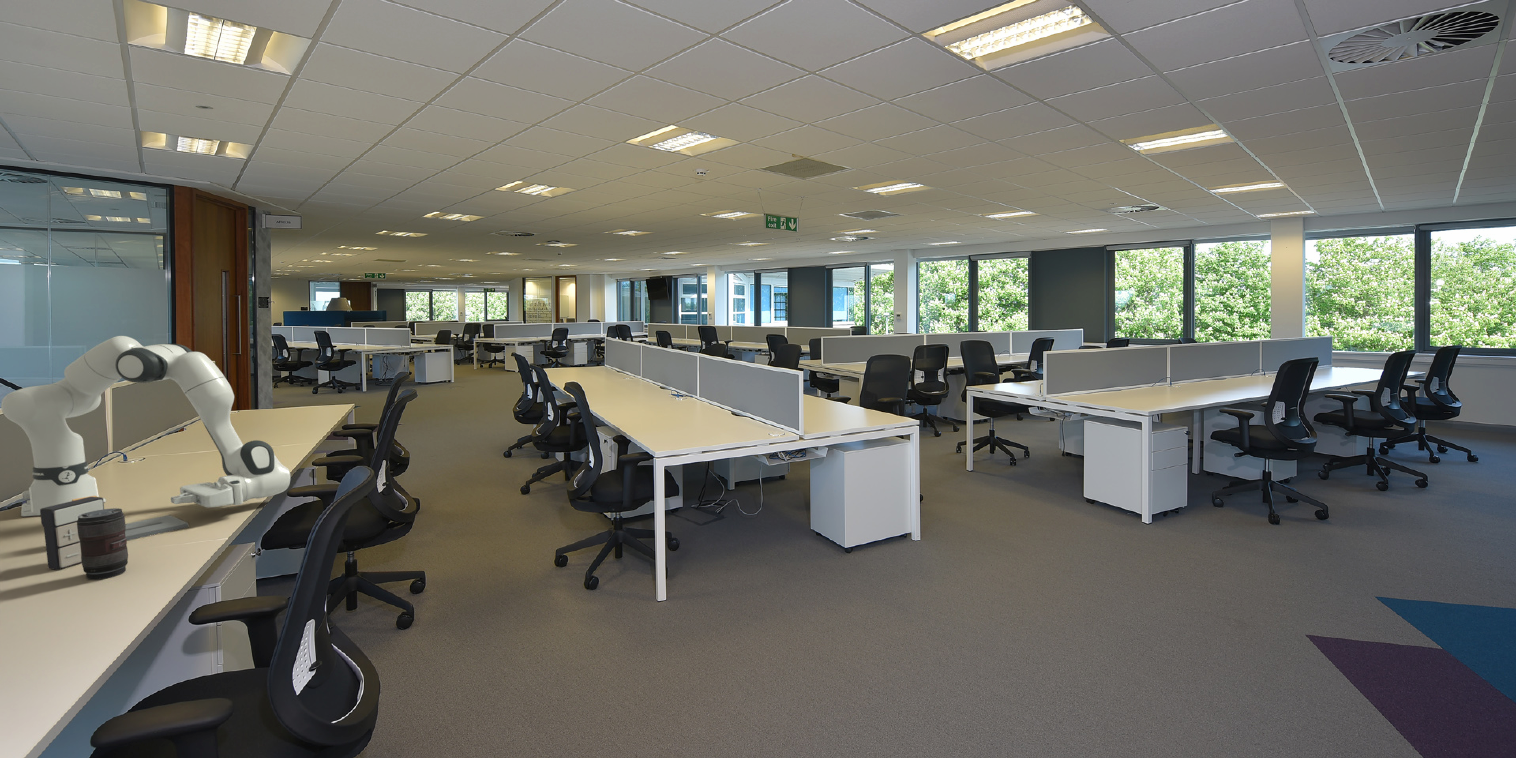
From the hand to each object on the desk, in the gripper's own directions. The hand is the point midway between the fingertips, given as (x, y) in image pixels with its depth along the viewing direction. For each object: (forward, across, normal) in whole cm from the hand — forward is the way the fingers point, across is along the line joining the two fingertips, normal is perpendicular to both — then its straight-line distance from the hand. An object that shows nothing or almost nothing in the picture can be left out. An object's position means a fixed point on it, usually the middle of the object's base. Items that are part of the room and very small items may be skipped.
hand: (172, 500), depth 197 cm
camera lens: (+23, +33, +7) cm, 40 cm away
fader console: (+11, 0, +7) cm, 13 cm away
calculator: (+24, +17, +7) cm, 30 cm away
